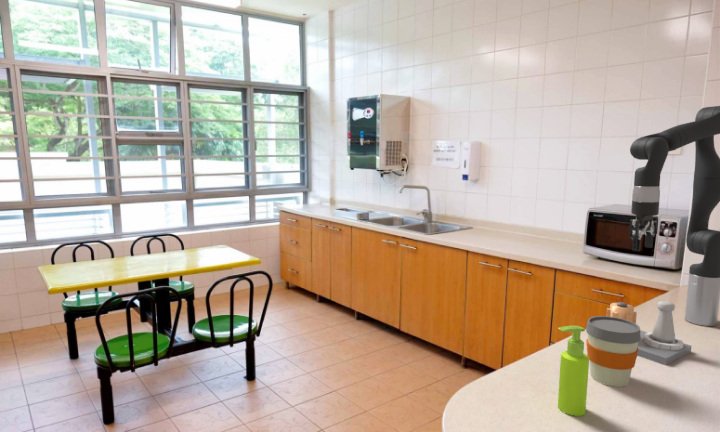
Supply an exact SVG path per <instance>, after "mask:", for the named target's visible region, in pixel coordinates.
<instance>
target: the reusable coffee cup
mask: <svg viewBox="0 0 720 432" xmlns="http://www.w3.org/2000/svg"><path fill="white" fill-rule="evenodd" d="M640 330H641V327H640V326H639V325H638V324H637V323H636V324H635V323H633V322H631V321H628V320H625V319H621V318H616V317H608V316H607V315H606V316H605V315H598V316H597V315H596V316H591V317H589V318H588V320H587V323H586V328H585V332H586V333H587V338H586V340H585V342H586V353H587V354H586V355H587V356H588V357H589V370H590V373H589V374H590V377H591V378H592V379H593V380H594V381H596V382H598V383H599V384H603V385H605V384H606V386H610V387H616V388H617V387H619V388H620V387H626V386H627V385H629V382H630V379H631V374H632V370H633V368H635V365H636V363H637V362H636V361H637V358H638V355H637V354H638V348H637V346H638V342H639V341H640V339H641V337H640Z"/></svg>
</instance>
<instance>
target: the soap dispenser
mask: <svg viewBox="0 0 720 432" xmlns="http://www.w3.org/2000/svg"><path fill="white" fill-rule="evenodd" d="M557 329H558V330H559V331H560V332H562V333H568V332H571V333H572V334H571V338H568V339H567V346H566V350H562V351H561V353H560V362H559V363H560V364H559V365H560V366H559V378H558V379H559V381H558V397H557V408H558V409H559V411H560V412H562V411H563V412H562V413H564V412H565V413H564V414H566V413H567V414H566V415H569V414H570V415H569V416H573V415H574V416H573V417H581V416H584V415H585V414H586V412H587V409H586V408H587V396H588V383H589V382H588V380H589V370H590V360H589V357H588V356H587V354H586V353H584V352H585V351H584V349H585V347H584V346H585V343H584V340H582V339H581V335H582V334H581V332H586V328H584V327H582V326H580V325H564V326H559V327H557Z"/></svg>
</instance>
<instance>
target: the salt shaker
mask: <svg viewBox="0 0 720 432" xmlns="http://www.w3.org/2000/svg"><path fill="white" fill-rule="evenodd" d="M656 305H657V309H658V310H659V311H658V314H657V317H656V320H655V323H654V327H653V330H652V332H651V333H652V336H653V338H654V340H655V341H657V342H660V343H667V344H672V342H673V341H674V339H675V337H676V333H675V326H674V325H675V324H674V318H673V317H674V316H673V312H674V311H675V304H674V303H673V302H671V301H668V300H660V301H658V302H657V304H656Z"/></svg>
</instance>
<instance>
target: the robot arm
mask: <svg viewBox="0 0 720 432" xmlns="http://www.w3.org/2000/svg"><path fill="white" fill-rule="evenodd" d="M695 115H696V116H695V119H694V121H690V122H686V123H681V124H677V125H676V126H673V127H670V128H667V129H665V130H663V131H661V132H656V133H652V134H648V135H644V136H641V137H638V138H637V139H635V140H634V141H633V142H632V143H631V145H630V148H629V153H630V155H631V156H632V157H633V158H634V159H636V160H640V161H642V160H643V161H645V160H647V161H646V164H645V166H643V167H638V168H636V169H635V171H634V178H633V189H632V197H631V209H630V210H631V211H630V212H631V215H634V216H635V219H634V218H633V219H632V218H631V219H630V220H629V228H628V238H630V239H632V242H631V243H632V244H631V250H632V252H640V251H641V245H642V244H641V240H642V237H643V235H645V236H644V247H645V248H648V249H651V248H653V246H654V245H653V244H654V238H655V235H657V234H658V227H659V226H658V225H659V216H658V215H659V213H660V212H659V211H660V198H661V190H660V185H661V184H660V183H661V173H662V171H663V168H664V166H665V162H666V160H667V157H668V155H669V152H673V151H675V150H678V149H681V148H682V147H685V146H687V145H690V144H692V143H695V145H694V147H695V153H694V154H695V157H694V158H695V159H694V171H693V184H692V200H691V201H692V202H691V209H690V215H689V222H688V227H687V233H686V238H685V239H686V240H685V241H686V243H685V244H686V247H687V249H688V250H689V252H691V253H693V254H698V255H700V256H703V258H702V259H703V260H702V262H700V263H693V264H691V265H690V266H689V272H688V282H687V293H686V303H685V310H684V311H685V312H684V313H685V314H684V320H685V321H687V322H689V323H692V324H694V325H699V326H706V327H714V326H717V324H718V318H719V317H718V316H719V309H720V230H714V229H709V225H710V224H709V222H710V218H711V214H712V212H713V210H715V208H716V207H717V206H718V205H719V203H720V157H719V155H718V153H717V151H716V147H715V136H716V135H720V105H715V106H706V107H703V108H701V109H699V110H698V111H697V113H696V114H695Z"/></svg>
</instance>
